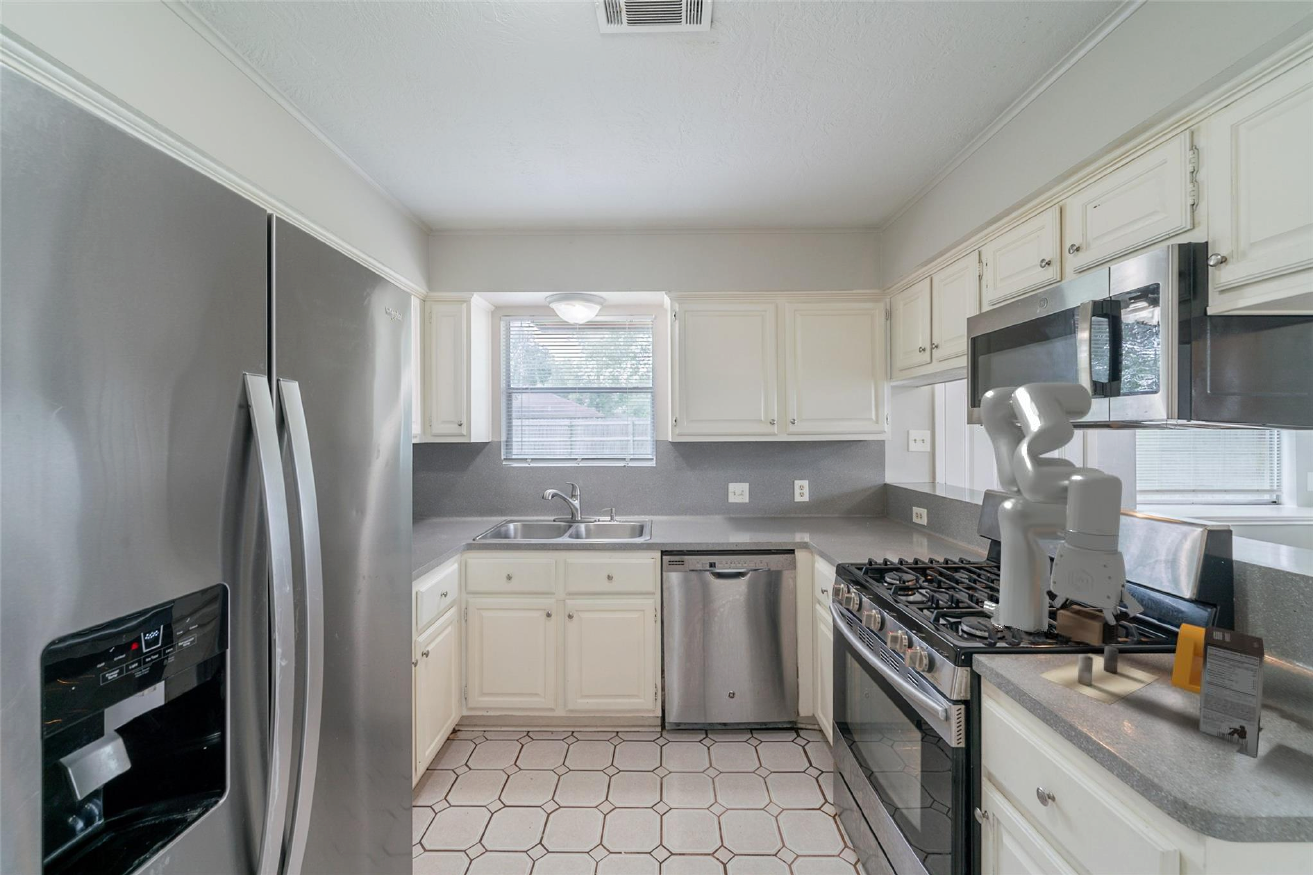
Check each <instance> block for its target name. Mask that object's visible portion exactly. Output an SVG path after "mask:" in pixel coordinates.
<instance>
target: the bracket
mask: <svg viewBox="0 0 1313 875" xmlns="http://www.w3.org/2000/svg"><path fill="white" fill-rule="evenodd" d="M1204 635H1205V627H1201V626H1196V625H1193V624H1188V623H1184V622H1183V623H1181V625H1180V628H1179V631H1178V635H1177V643H1176V648H1175V649H1176V650H1175V655H1174V662H1173V670H1172V674H1171V683H1170V684H1171V686H1173V687H1176V688H1178V689H1181V690H1182V689H1183V690H1184V691H1188V692H1191V693H1195V694H1197V695H1200V692H1201V674H1202V660H1203V644H1204Z"/></svg>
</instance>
